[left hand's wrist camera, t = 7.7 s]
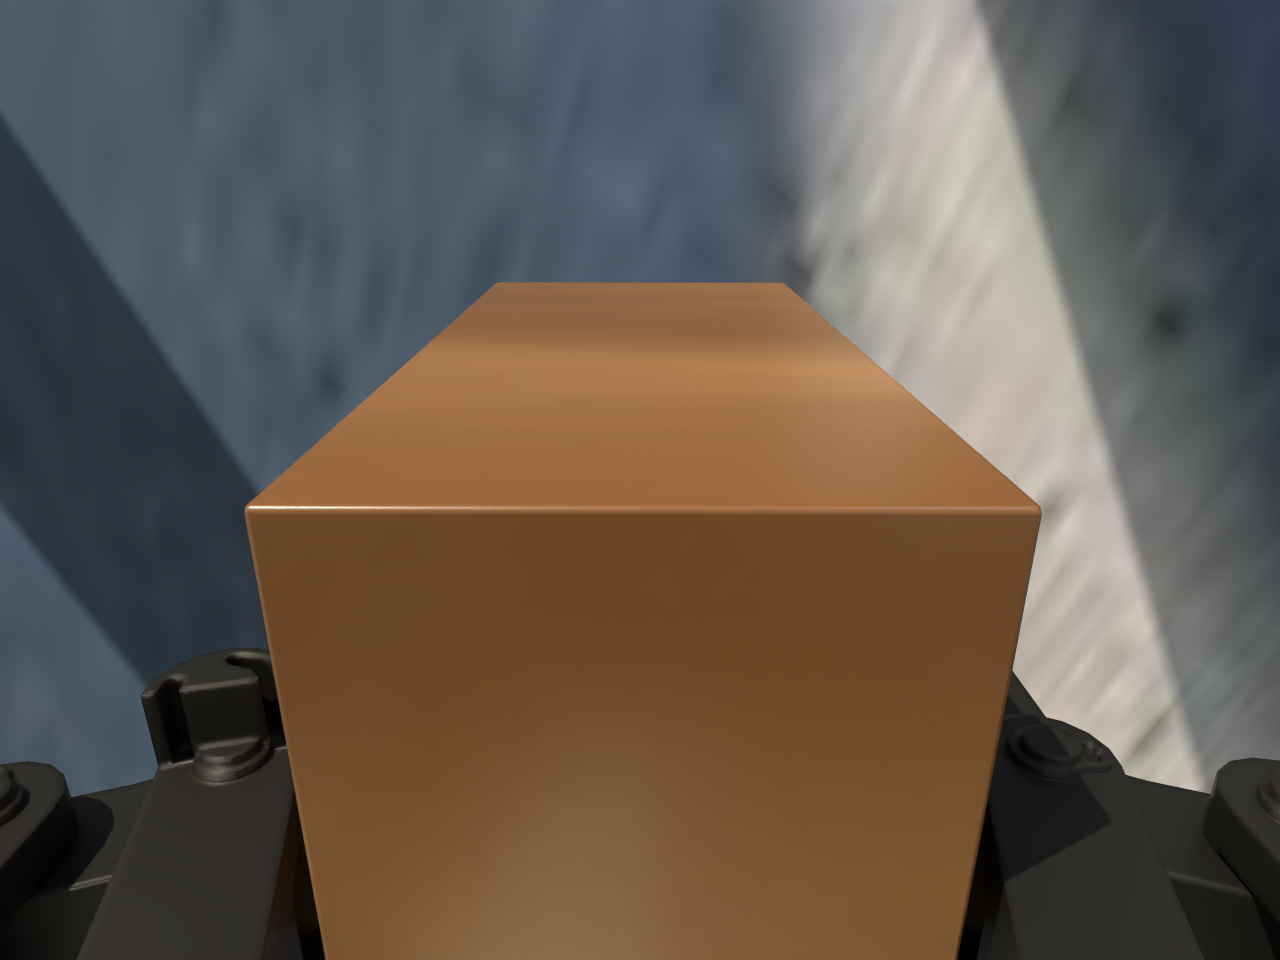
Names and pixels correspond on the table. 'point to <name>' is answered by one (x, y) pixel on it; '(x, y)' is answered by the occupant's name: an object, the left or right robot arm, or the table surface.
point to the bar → (642, 639)
